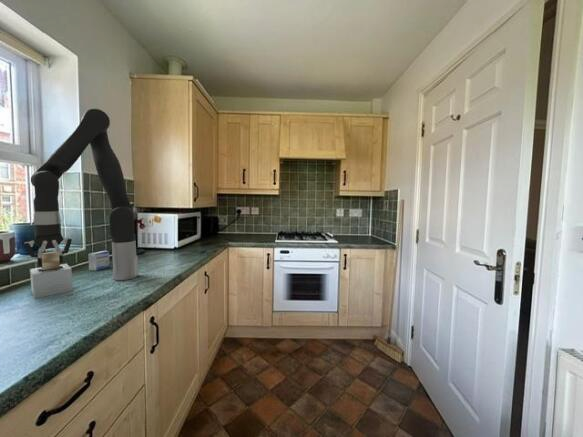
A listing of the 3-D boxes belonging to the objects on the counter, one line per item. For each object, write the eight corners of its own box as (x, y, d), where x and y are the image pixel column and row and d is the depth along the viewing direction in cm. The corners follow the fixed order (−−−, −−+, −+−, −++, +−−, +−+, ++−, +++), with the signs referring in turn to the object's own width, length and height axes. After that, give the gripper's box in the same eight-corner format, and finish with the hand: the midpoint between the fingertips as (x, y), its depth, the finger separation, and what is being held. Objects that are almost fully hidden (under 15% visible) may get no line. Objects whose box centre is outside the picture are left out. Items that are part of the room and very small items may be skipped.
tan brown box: (58, 265, 104) (57, 251, 104) (59, 267, 102) (58, 252, 102) (41, 268, 100) (40, 253, 100) (42, 269, 98) (41, 254, 98)
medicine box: (96, 270, 129) (95, 254, 129) (88, 270, 130) (87, 253, 130) (109, 266, 137) (109, 250, 136) (103, 266, 138) (102, 250, 137)
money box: (67, 284, 110) (66, 263, 109) (72, 290, 102) (71, 268, 102) (31, 291, 101) (29, 268, 101) (34, 298, 94) (32, 274, 93)
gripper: (69, 221, 107) (72, 260, 109) (20, 223, 97) (24, 267, 98) (73, 222, 103) (75, 264, 104) (21, 225, 92) (25, 271, 93)
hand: (50, 265), depth 101 cm, fingers closed on tan brown box, 4 cm apart
